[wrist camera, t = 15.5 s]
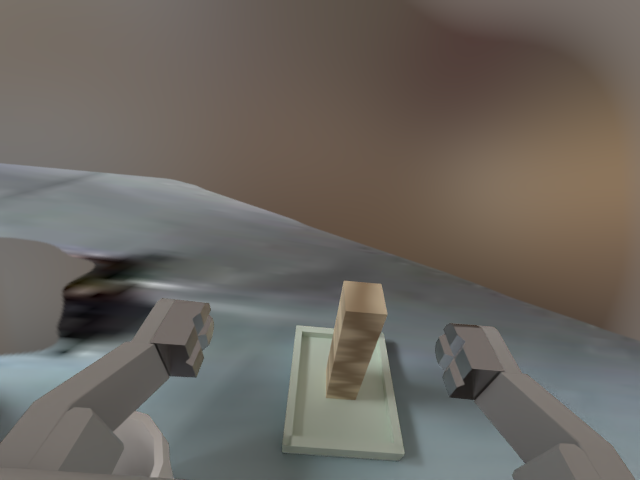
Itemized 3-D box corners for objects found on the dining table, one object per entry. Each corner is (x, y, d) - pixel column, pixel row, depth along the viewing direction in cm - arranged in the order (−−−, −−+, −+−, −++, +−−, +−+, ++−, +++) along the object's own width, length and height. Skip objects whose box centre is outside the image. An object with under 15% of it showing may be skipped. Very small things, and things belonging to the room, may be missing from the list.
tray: (281, 452, 33) (282, 445, 31) (295, 334, 46) (296, 325, 44) (398, 461, 33) (404, 454, 32) (380, 341, 46) (383, 332, 44)
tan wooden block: (325, 397, 37) (345, 311, 26) (326, 368, 40) (343, 280, 29) (355, 400, 37) (387, 314, 26) (353, 371, 40) (381, 284, 30)
